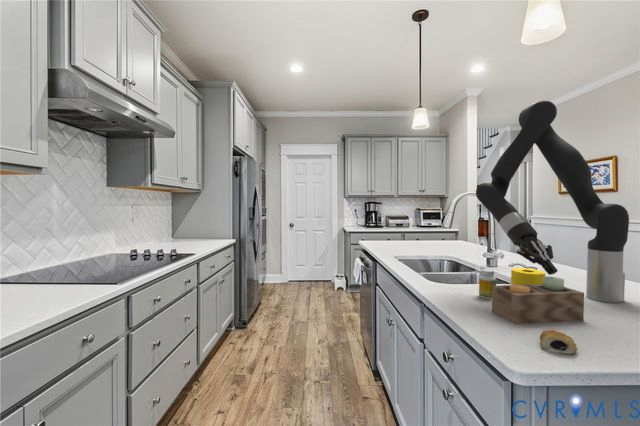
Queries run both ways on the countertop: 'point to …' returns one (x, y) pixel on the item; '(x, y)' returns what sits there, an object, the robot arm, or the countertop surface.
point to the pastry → (557, 342)
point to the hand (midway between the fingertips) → (553, 273)
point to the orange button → (520, 288)
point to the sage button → (553, 283)
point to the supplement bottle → (486, 283)
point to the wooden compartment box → (538, 304)
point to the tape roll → (526, 276)
